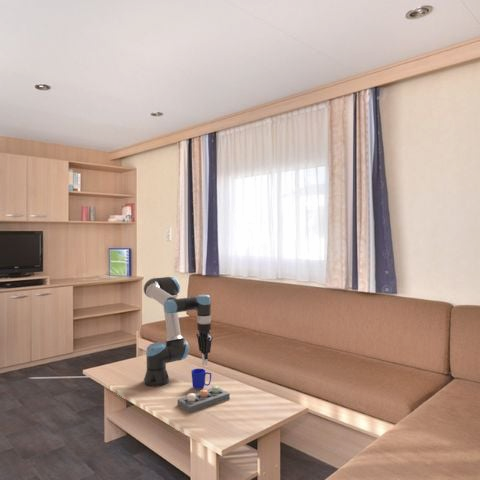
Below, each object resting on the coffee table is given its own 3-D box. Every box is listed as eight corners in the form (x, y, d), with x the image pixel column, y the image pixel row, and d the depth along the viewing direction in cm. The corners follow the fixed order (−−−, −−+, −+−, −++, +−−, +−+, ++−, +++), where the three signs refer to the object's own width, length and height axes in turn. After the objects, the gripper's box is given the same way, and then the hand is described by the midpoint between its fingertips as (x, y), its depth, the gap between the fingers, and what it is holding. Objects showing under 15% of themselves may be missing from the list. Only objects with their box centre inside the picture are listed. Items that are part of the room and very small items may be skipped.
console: (177, 405, 208) (177, 399, 208) (216, 392, 225) (216, 386, 225) (189, 412, 199) (189, 407, 199) (229, 398, 216) (229, 393, 216)
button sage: (210, 392, 217) (210, 386, 217) (216, 390, 220) (216, 384, 220) (214, 394, 214) (214, 389, 214) (221, 392, 217) (221, 387, 217)
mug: (209, 391, 226) (209, 374, 226) (189, 389, 229) (189, 372, 228) (213, 385, 234) (213, 369, 234) (194, 384, 237) (193, 368, 237)
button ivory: (185, 400, 207) (185, 394, 207) (192, 398, 210) (192, 392, 210) (190, 403, 204) (190, 397, 204) (197, 400, 207) (197, 395, 206)
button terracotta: (198, 396, 212) (198, 390, 212) (205, 394, 215) (204, 388, 215) (202, 398, 209) (202, 393, 209) (209, 396, 212) (209, 391, 212)
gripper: (192, 322, 221) (193, 363, 221) (205, 325, 211) (205, 369, 211) (203, 320, 226) (204, 360, 226) (216, 323, 216) (217, 366, 216)
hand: (204, 364), depth 219 cm, fingers closed
